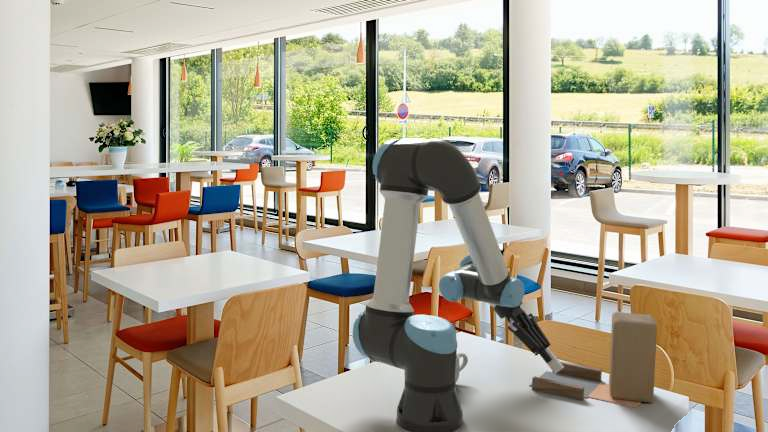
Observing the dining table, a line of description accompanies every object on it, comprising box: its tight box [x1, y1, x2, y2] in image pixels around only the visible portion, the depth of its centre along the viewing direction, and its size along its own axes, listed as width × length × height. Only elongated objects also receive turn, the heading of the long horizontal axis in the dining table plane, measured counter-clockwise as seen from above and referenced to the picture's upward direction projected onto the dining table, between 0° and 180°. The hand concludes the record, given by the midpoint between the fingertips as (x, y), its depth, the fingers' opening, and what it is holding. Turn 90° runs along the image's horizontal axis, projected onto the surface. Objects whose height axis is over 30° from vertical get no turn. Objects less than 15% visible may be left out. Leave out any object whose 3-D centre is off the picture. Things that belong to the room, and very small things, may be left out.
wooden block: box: [608, 311, 658, 403], centre depth 167 cm, size 10×10×20 cm
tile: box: [587, 382, 642, 409], centre depth 168 cm, size 11×12×1 cm
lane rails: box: [531, 361, 603, 401], centre depth 175 cm, size 17×13×3 cm
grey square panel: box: [528, 370, 602, 399], centre depth 175 cm, size 13×15×1 cm
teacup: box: [456, 352, 469, 383], centre depth 174 cm, size 14×11×8 cm
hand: (559, 370), depth 175 cm, fingers closed
